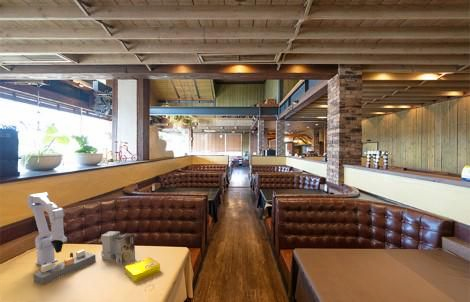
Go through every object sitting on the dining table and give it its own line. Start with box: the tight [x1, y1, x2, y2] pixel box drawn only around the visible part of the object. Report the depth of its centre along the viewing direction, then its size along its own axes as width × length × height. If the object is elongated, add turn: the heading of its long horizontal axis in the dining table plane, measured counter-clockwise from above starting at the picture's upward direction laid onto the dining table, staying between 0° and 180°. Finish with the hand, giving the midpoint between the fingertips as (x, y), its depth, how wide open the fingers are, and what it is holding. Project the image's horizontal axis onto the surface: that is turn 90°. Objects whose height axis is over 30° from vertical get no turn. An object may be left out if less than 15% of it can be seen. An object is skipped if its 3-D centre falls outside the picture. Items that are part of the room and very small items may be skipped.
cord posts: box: [43, 252, 74, 265], centre depth 139 cm, size 2×16×5 cm, turn 154°
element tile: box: [124, 256, 161, 283], centre depth 131 cm, size 15×15×5 cm
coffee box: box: [115, 232, 136, 267], centre depth 145 cm, size 9×6×16 cm
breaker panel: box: [33, 251, 97, 286], centre depth 136 cm, size 9×28×4 cm, turn 154°
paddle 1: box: [40, 263, 53, 272], centre depth 129 cm, size 2×4×3 cm, turn 154°
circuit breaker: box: [100, 230, 121, 260], centre depth 152 cm, size 8×14×15 cm, turn 78°
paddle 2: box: [75, 249, 86, 258], centre depth 145 cm, size 2×4×3 cm, turn 154°
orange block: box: [63, 256, 74, 266], centre depth 135 cm, size 2×4×3 cm, turn 154°
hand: (58, 252), depth 139 cm, fingers closed
